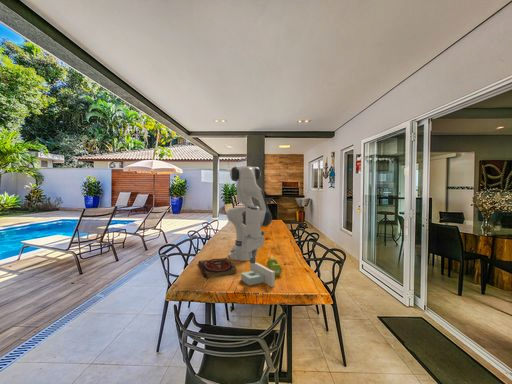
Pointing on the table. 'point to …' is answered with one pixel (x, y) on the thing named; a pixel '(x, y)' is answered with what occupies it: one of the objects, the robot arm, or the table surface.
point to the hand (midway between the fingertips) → (252, 257)
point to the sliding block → (252, 277)
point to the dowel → (252, 260)
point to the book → (217, 267)
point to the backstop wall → (264, 273)
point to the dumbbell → (274, 266)
